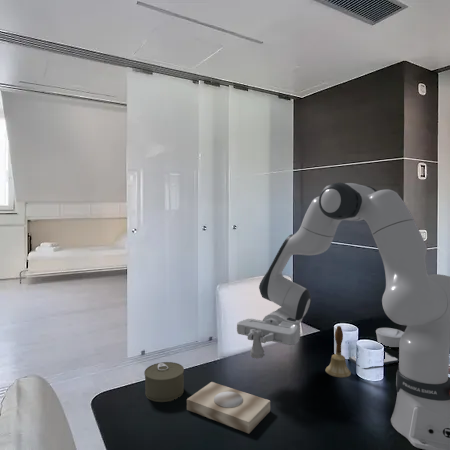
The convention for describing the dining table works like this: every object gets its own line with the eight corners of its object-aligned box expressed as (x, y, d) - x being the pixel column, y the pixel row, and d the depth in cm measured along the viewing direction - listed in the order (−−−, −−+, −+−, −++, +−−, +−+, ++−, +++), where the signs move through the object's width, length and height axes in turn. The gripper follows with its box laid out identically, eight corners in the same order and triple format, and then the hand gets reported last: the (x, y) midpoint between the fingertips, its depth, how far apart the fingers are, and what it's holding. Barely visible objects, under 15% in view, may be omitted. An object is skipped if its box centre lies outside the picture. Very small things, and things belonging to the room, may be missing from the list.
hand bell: (354, 371, 125) (355, 325, 125) (345, 380, 119) (345, 332, 118) (331, 364, 131) (331, 320, 130) (321, 372, 124) (321, 326, 124)
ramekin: (411, 350, 143) (411, 337, 143) (382, 350, 143) (382, 337, 143) (398, 339, 154) (398, 327, 154) (371, 339, 155) (371, 327, 154)
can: (148, 406, 105) (148, 382, 104) (141, 386, 116) (141, 365, 115) (189, 397, 109) (188, 375, 109) (178, 379, 120) (178, 359, 120)
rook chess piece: (260, 360, 108) (260, 333, 108) (247, 357, 111) (247, 331, 110) (267, 354, 112) (266, 329, 112) (254, 351, 115) (253, 326, 114)
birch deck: (270, 411, 101) (270, 399, 101) (248, 433, 91) (248, 421, 91) (211, 391, 112) (211, 380, 112) (186, 409, 102) (186, 398, 102)
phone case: (362, 371, 127) (400, 364, 131) (362, 366, 127) (400, 360, 131) (347, 360, 136) (383, 354, 140) (347, 356, 135) (383, 350, 140)
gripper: (248, 311, 127) (226, 322, 116) (304, 321, 116) (286, 335, 105) (248, 329, 128) (227, 342, 116) (304, 341, 117) (286, 356, 105)
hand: (255, 338), depth 110 cm, fingers closed on rook chess piece, 3 cm apart
